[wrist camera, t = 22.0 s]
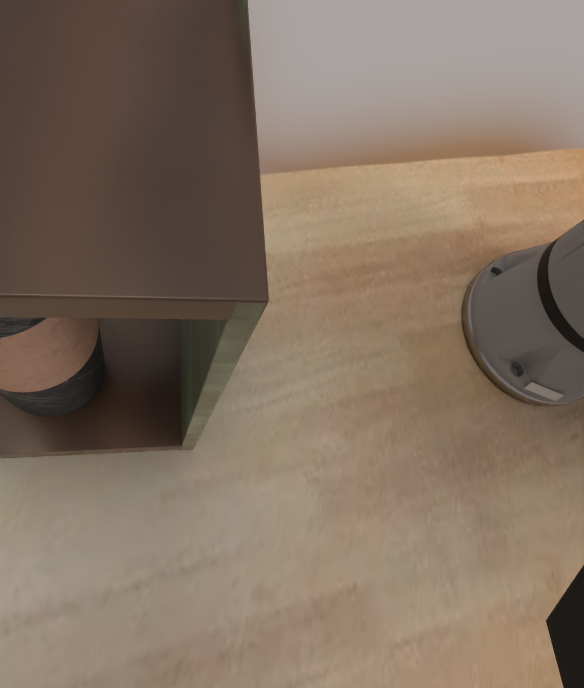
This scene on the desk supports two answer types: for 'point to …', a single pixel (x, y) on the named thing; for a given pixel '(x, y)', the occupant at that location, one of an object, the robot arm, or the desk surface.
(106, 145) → the shelf
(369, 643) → the desk surface
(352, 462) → the desk surface
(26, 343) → the travel mug
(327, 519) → the desk surface
